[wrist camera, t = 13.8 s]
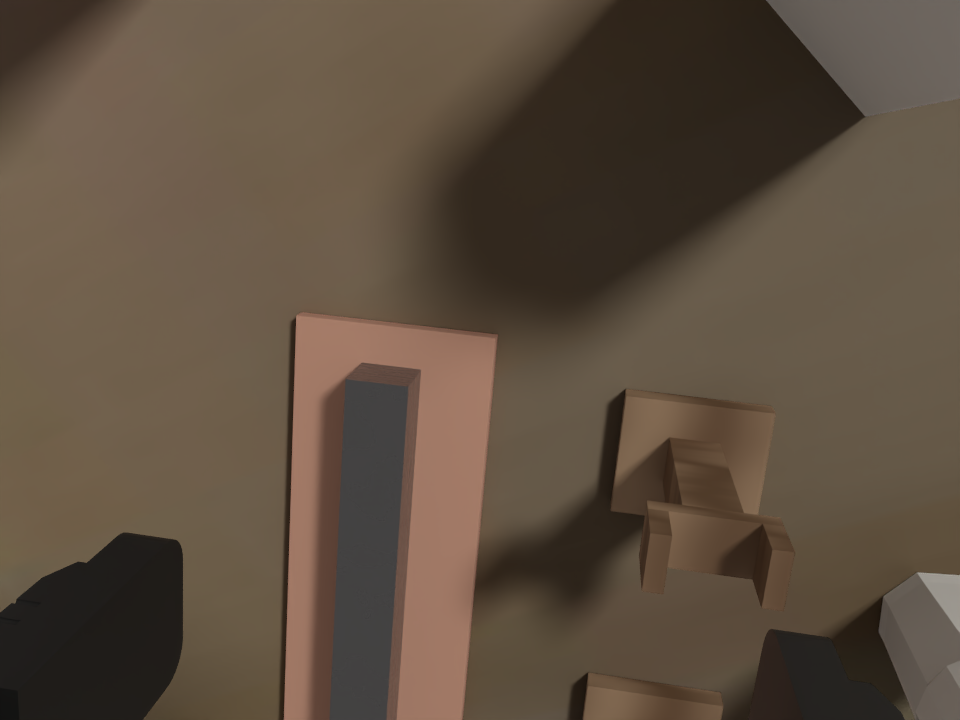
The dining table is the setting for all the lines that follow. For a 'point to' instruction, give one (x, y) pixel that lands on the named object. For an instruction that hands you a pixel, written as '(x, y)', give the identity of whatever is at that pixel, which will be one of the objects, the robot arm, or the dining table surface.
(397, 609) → the rail
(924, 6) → the milk
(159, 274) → the dining table surface
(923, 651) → the cup
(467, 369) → the mat
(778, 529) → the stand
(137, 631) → the robot arm
